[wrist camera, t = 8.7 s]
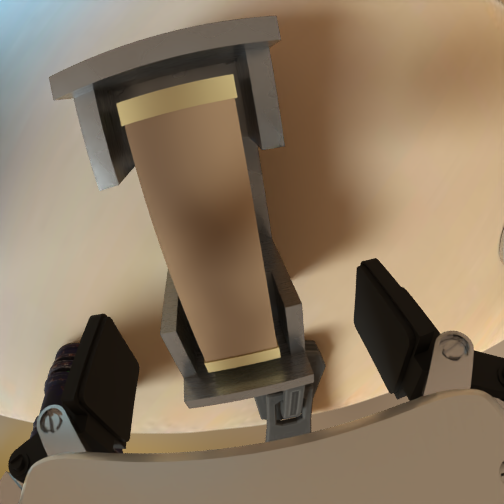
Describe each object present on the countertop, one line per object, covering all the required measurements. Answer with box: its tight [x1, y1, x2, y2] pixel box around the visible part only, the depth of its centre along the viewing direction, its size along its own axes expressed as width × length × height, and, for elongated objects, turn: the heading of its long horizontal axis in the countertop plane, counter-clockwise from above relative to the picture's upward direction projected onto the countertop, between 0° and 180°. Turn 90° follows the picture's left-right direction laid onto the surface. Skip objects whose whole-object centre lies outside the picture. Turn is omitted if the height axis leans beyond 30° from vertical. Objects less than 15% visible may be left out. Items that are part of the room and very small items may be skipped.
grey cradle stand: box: [49, 16, 314, 409], centre depth 18 cm, size 8×20×11 cm, turn 9°
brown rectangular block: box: [116, 74, 281, 373], centre depth 16 cm, size 5×16×5 cm, turn 9°
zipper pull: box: [254, 341, 325, 442], centre depth 35 cm, size 9×7×25 cm
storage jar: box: [30, 343, 123, 453], centre depth 24 cm, size 10×10×15 cm
